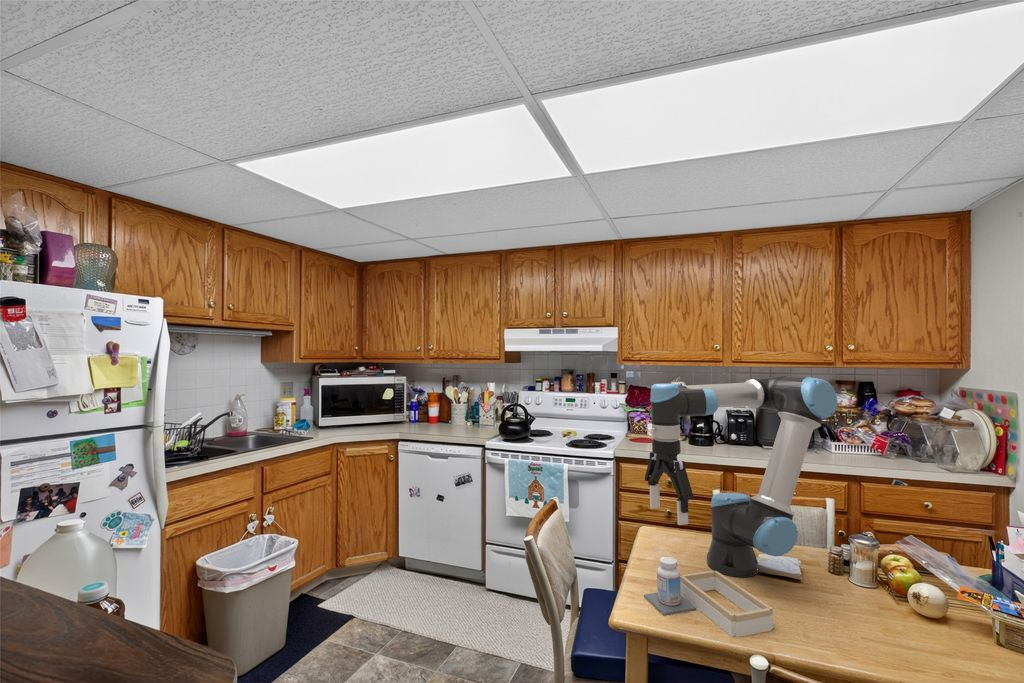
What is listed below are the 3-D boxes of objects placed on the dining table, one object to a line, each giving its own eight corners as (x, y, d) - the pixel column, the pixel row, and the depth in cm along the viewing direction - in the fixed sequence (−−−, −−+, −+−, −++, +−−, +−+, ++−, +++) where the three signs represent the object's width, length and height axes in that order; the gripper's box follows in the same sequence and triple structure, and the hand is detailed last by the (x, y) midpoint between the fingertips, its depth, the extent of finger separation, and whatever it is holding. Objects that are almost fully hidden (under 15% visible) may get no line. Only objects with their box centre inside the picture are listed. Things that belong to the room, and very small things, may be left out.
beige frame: (715, 586, 139) (715, 569, 139) (775, 629, 118) (774, 609, 118) (678, 592, 136) (678, 575, 136) (733, 638, 115) (732, 617, 115)
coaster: (674, 591, 137) (674, 589, 137) (696, 609, 127) (696, 607, 127) (643, 596, 134) (643, 594, 134) (663, 615, 125) (663, 613, 125)
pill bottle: (680, 597, 133) (679, 556, 133) (680, 608, 127) (680, 566, 127) (658, 593, 135) (657, 554, 135) (657, 604, 129) (656, 563, 129)
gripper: (631, 432, 143) (633, 503, 142) (680, 448, 119) (683, 533, 118) (653, 431, 145) (655, 500, 144) (706, 446, 121) (709, 530, 120)
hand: (668, 515), depth 131 cm, fingers open, 13 cm apart
